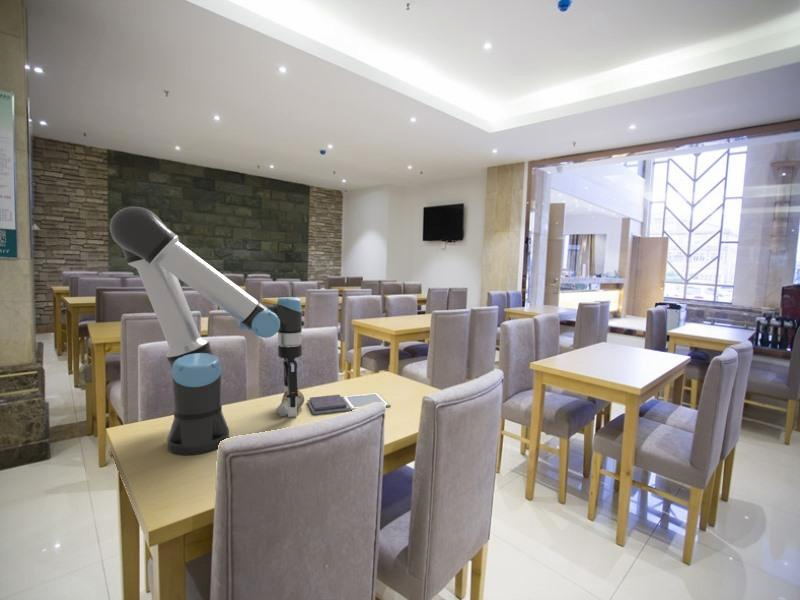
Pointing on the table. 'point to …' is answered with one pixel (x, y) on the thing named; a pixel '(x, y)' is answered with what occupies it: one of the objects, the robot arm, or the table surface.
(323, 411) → the ink pad
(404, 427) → the table surface
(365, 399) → the marked board
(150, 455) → the table surface
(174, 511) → the table surface
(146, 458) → the table surface
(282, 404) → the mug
